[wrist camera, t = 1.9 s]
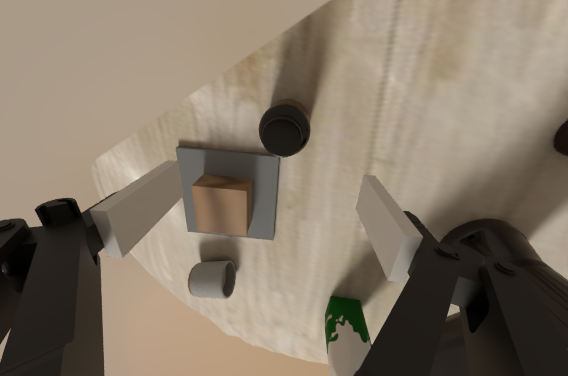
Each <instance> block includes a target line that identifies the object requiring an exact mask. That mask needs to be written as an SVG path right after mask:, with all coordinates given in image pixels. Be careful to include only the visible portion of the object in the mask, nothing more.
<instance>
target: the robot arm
mask: <svg viewBox="0 0 568 376" xmlns="http://www.w3.org/2000/svg"><path fill="white" fill-rule="evenodd" d="M183 196H184V193H183V187H182V181H181V174H180V168H179V162H178V161H169V160H168V161H166V162H164V163H163V164H161V165H160V166H158V167H156V168H155V169H153V170H152V171H150V172H149V173H147V174H145V175H144V176H142V177H141V178H139V179H138V180H136V181H134V182H133V183H131V184H130V185H128V186H126V187H125V188H123V189H122V190H120V191H118V192H115V193H113V194H111V195H110V196H108V197H106V198H105V199H103V200H101V201H100V202H99V203H97V204H95V205H94V206H92V207H90V208H89V209H87V210H86V211H84V212H82V213H81V212H80V210H79V207H78V205H77V202H76V200H75V199H73V198H61V199H55V200H52V201H49V202H46V203H43V204H41V205H39V206H37V208H36V209H35V211H36V213H37V215H38V217H39V219H40V221H41V223H42V225H43V226H39V227H30V228H29V227H28V225H27V223H26V221H25V220H24V219H19V218H18V219H9V220H2V221H0V344H1V342H2V341H3V339H4V338H5V336H6V335H7V333H8V332H9V330H10V328H11V330H10V333H9V336H8V340H7V343H6V346H5V349H4V352H3V355H2V359H1V362H0V376H104V352H103V327H102V326H103V324H102V296H101V268H100V257H99V255H98V252H99V251H101V250H102V249H103V248H105V251H106V253H107V256H108V257H116V258H123V257H124V256H125V255H126V254H127V253H128V252H129V251H130V250H131V249H132V248H133V247H134V246H135V245H136V244H137V243H138V242H139V241H140V240H141V239H142V238H143V237H144V236H145V235H146V234H147V233H148V232H149V231H150V230H151V229H152V228H153V226H154V225H155V224H156V223H157V222H158V221H159V220H160V219H161V218H162V217H163V216H164V215H165V214H166V213H167V212H168V211H169V210H170V209H171V208H172V207H173V206H174V205H175V204H176V203H177V202H178V201H179V200H180V199H181V198H182V197H183ZM356 210H357V212H358V215H359V217H360V219H361V221H362V224H363V226H364V228H365V230H366V233H367V235H368V237H369V239H370V242H371V244H372V246H373V248H374V251H375V253H376V255H377V257H378V260H379V262H380V264H381V266H382V269H383V271H384V273H385V275H386V278H387V280H388V281H395V282H404V281H405V278H406V276H407V274H409V276H410V278H409V280H408V281H407V283H406V285H405V287H404V289H403V290H402V292H401V294H400V296H399V298H398V299H397V301H396V303H395V305H394V307H393V308H392V310H391V312H390V314H389V316H388V317H387V319H386V321H385V323H384V325H383V327H382V328H381V330H380V332H379V334H378V336H377V337H376V339H375V341H374V343H373V345H372V346H371V348H370V350H369V352H368V354H367V355H366V357H365V359H364V361H363V363H362V364H361V366H360V368H359V369H358V370H357V371H356V372H355V374H354V375H353V376H568V280H567V279H566V278H564V277H563V276H562V275H560V274H559V273H557V272H556V271H555V270H553V269H552V268H551V267H549V266H548V265H547V264H545V263H544V262H543V261H542V260H541V258H540V257H539V256H538V254H537V253H536V251H535V250H534V249H533V247H532V246H531V245H530V243H529V242H528V241H527V239H526V237H525V236H524V235H523V234H522V233H521V232H520V231H519V230H517V229H516V228H514V227H513V226H511V225H510V224H508V223H506V222H504V221H500V220H495V219H483V220H476V221H472V222H469V223H466V224H464V225H462V226H460V227H458V228H456V229H454V230H453V231H451V232H450V233H449V234H448V235H446V236H445V237H444V238H443V240H442V241H441V242H440V243H439V242H437V240H436V239H435V238H434V237H433V236H432V234H431V233H430V232H429V231H428V230H427V229H426V228H425V226H424V225H423V224H421V222H420V220H419V219H418V218H417V217H416V216H415V215H413V214H412V213H410V212H409V211H402V209H401V208H400V207H399V206H398V204H397V203H396V202H395V201H394V199H393V198H392V197H391V196H390V194H389V193H388V192H387V190H386V189H385V188H384V187H383V185H382V184H381V183H380V182H379V180H378V179H377V178H376V176H372V175H364V176H363V181H362V185H361V189H360V193H359V198H358V202H357V206H356ZM2 270H3V271H4V272H3V271H2ZM450 304H454V305H457V306H459V308H460V312H458V313H455V314H453V315H450V316H447V314H448V311H449V307H450Z"/></svg>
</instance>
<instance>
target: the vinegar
mask: <svg viewBox="0 0 568 376" xmlns="http://www.w3.org/2000/svg"><path fill="white" fill-rule="evenodd" d="M554 145H555V148H556V150H557V151H558V152H560V153H562V154H563V155H567V156H568V121H567V122H566V123H565V124H564V125H563V126H562V127H561V128H560V129H559V131H558V132H557V134H556V137H555V140H554Z"/></svg>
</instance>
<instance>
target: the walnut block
mask: <svg viewBox="0 0 568 376" xmlns="http://www.w3.org/2000/svg"><path fill="white" fill-rule="evenodd" d="M252 182H253V179H250V178H239V177H229V176H218V175H208V174H203V175H202V176H201V177H200V178H199V179H198V180H197V181H196V182H195V183H194V184H193V185H192V194H193V202H194V211H195V219H196V227H197V231H204V232H214V233H223V234H233V235H243V236H247V233H248V230H249V227H250V224H251V221H252Z"/></svg>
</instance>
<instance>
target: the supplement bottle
mask: <svg viewBox="0 0 568 376" xmlns="http://www.w3.org/2000/svg"><path fill="white" fill-rule="evenodd" d="M259 136H260V139H261V141H262V143H263V145H264V147H265V148H266V150H267V151H268V152H269V153H271V154H272V155H274V156H276V157H279V158H280V157H282V158H284V157H288V156H291V155H294V154H297V153H298V152H300V151H301V150H302V149H303V148H304V147H305V146H306V144H307V142H308V140H309V137H310V121H309V116H308V112H307V110H306V109H305V107H304V106H303V105H302V104H301V103H300V102H298V101H296V100H293V99H284V100H280V101H278V102H277V103H275V104H274V105H273V106H272V107H270V108H269V109H268V110H267V111H266V112H265V113H264V115H263V116H262V118H261V121H260V124H259Z"/></svg>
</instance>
